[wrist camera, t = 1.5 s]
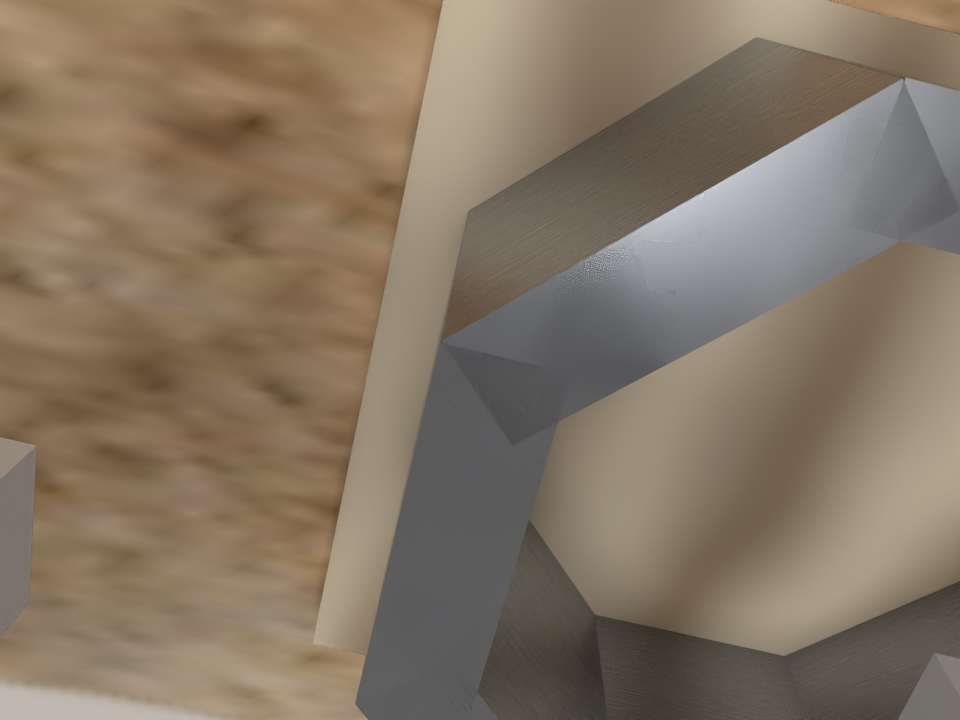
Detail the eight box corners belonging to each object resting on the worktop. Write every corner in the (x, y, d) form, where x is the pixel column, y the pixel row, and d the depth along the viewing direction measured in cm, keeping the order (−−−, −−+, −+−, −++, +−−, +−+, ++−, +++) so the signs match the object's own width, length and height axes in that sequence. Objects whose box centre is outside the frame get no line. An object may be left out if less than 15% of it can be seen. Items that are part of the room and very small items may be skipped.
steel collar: (371, 627, 25) (310, 895, 18) (523, -23, 19) (524, -20, 11) (953, 752, 26) (1123, 1056, 19) (1293, 173, 20) (1754, 293, 12)
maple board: (323, 609, 27) (312, 643, 26) (466, -90, 20) (461, -94, 18) (965, 747, 28) (988, 787, 27) (1327, 132, 21) (1385, 144, 19)
